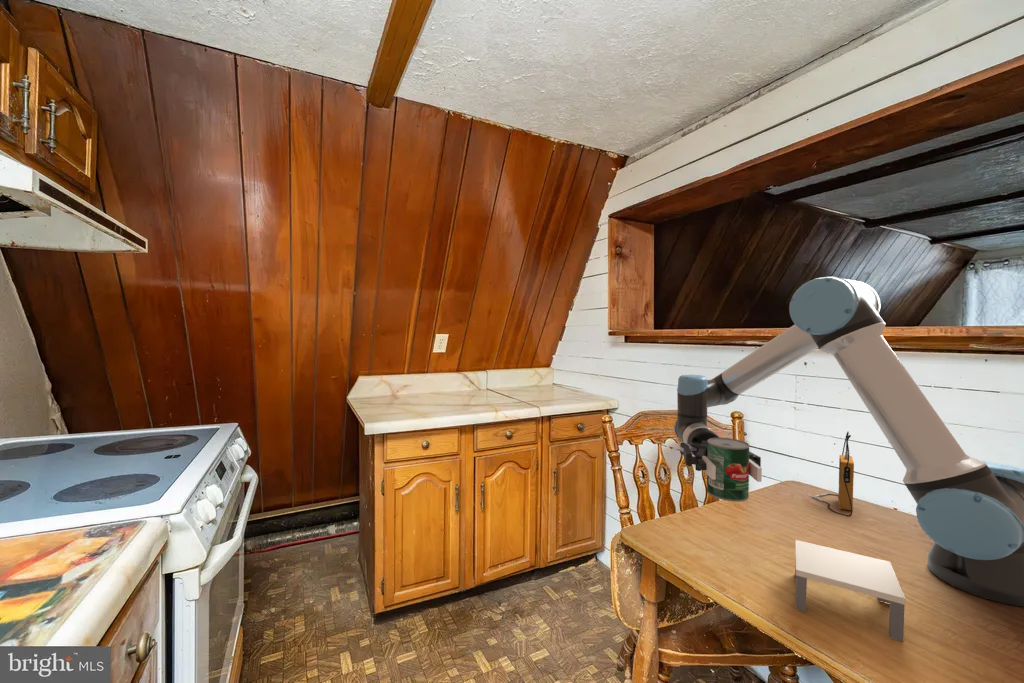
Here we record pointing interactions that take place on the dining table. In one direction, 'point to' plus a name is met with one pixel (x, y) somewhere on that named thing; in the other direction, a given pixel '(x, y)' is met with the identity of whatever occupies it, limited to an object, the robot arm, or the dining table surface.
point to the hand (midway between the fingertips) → (736, 473)
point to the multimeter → (844, 480)
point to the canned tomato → (729, 469)
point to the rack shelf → (850, 578)
